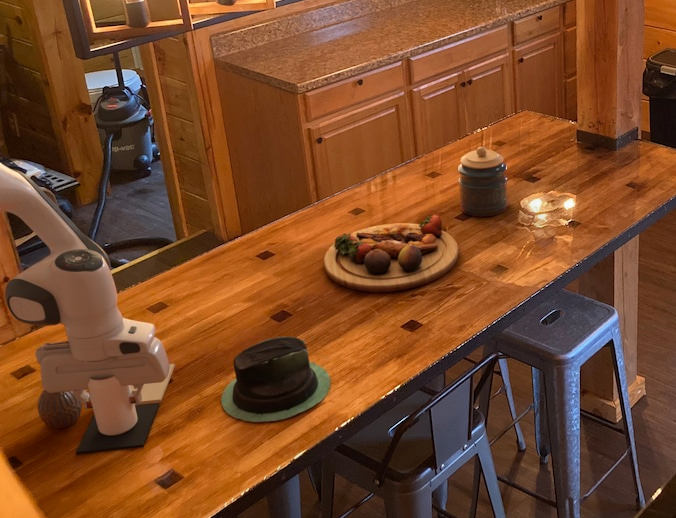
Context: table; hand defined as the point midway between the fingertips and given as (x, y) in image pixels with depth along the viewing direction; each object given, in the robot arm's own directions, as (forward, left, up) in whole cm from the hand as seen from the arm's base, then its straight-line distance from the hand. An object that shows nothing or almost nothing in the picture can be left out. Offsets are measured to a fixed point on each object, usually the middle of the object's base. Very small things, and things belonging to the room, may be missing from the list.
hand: (114, 404), depth 170 cm
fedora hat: (+27, +7, -6) cm, 28 cm away
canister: (+72, +82, -6) cm, 109 cm away
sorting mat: (0, +6, -5) cm, 8 cm away
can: (0, 0, -5) cm, 5 cm away
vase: (-10, +4, -6) cm, 12 cm away
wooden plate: (+48, +56, -6) cm, 73 cm away
